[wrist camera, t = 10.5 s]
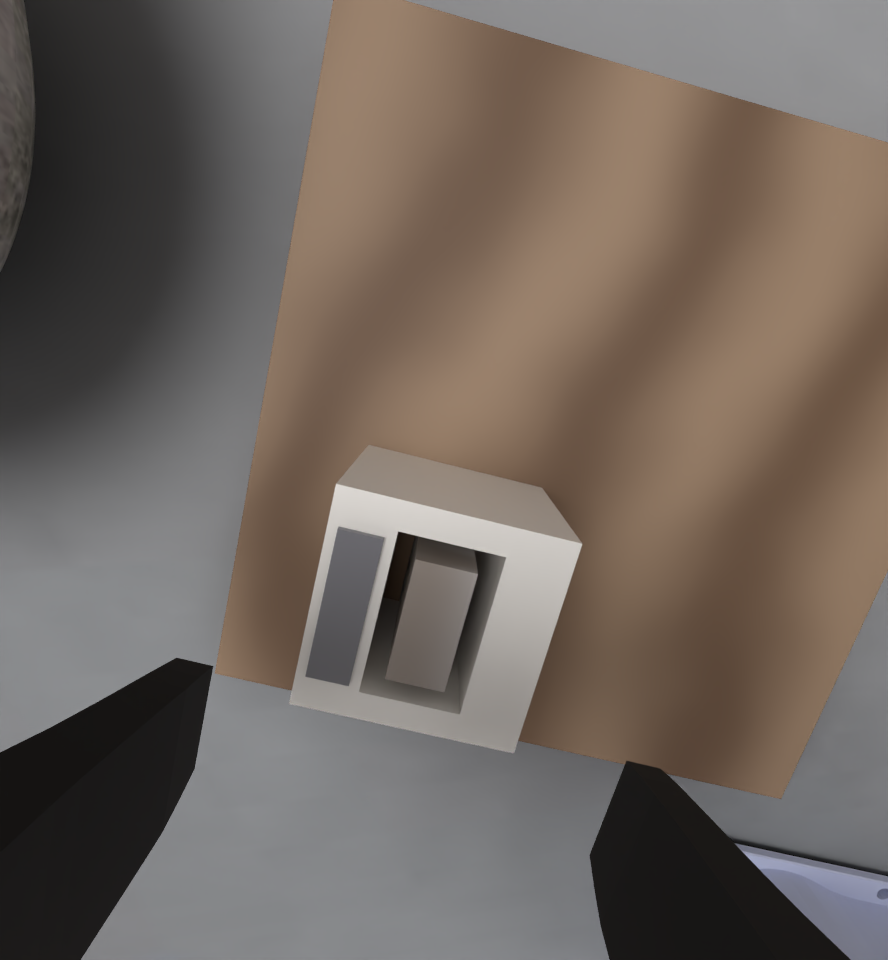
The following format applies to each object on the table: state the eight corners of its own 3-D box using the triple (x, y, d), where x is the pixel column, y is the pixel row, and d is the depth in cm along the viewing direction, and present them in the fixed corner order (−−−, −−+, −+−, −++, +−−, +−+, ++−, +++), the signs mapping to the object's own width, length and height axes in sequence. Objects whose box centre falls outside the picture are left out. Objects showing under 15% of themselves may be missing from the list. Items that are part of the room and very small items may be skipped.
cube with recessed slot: (542, 487, 17) (584, 546, 12) (494, 643, 18) (514, 758, 13) (368, 444, 16) (334, 485, 11) (332, 606, 17) (287, 708, 12)
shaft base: (1017, 205, 16) (1370, 115, 10) (761, 773, 20) (896, 951, 14) (345, 9, 15) (276, -228, 9) (228, 653, 19) (129, 791, 13)
